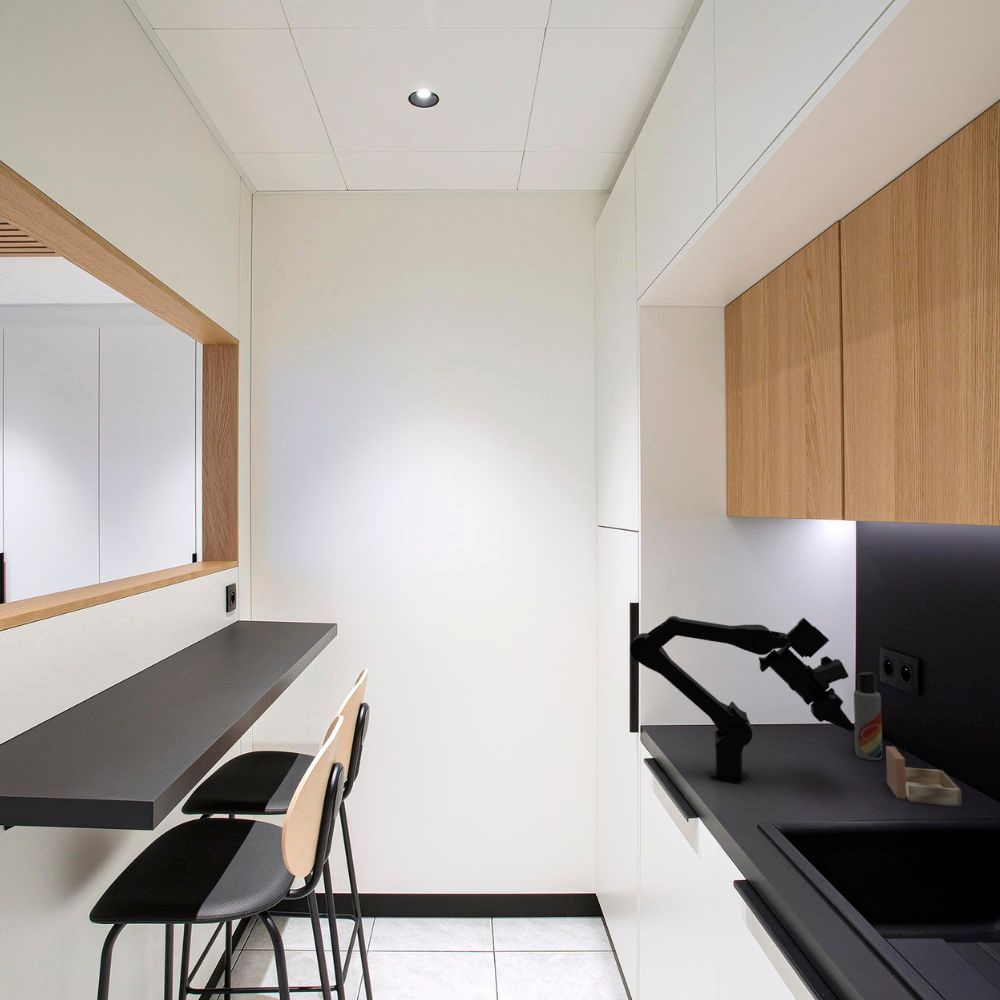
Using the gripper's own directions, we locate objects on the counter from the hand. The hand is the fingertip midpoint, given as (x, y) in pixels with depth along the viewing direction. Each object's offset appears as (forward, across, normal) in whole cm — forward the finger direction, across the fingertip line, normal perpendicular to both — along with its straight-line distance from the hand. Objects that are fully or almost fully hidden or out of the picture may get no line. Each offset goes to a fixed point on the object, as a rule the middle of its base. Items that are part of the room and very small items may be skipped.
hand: (851, 727), depth 147 cm
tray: (+19, 0, -1) cm, 19 cm away
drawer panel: (+15, 0, +3) cm, 15 cm away
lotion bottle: (+14, +21, +4) cm, 26 cm away
